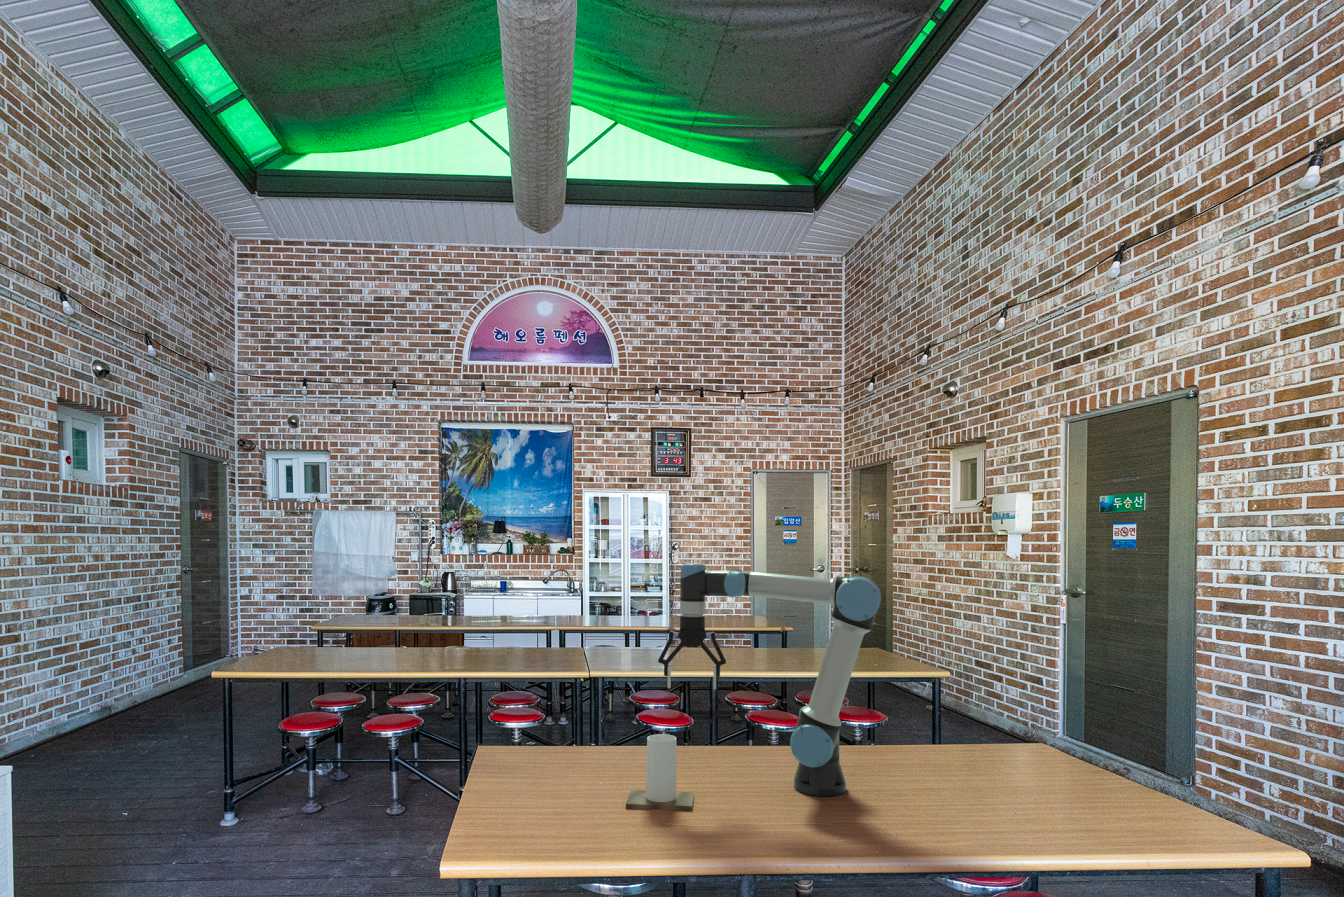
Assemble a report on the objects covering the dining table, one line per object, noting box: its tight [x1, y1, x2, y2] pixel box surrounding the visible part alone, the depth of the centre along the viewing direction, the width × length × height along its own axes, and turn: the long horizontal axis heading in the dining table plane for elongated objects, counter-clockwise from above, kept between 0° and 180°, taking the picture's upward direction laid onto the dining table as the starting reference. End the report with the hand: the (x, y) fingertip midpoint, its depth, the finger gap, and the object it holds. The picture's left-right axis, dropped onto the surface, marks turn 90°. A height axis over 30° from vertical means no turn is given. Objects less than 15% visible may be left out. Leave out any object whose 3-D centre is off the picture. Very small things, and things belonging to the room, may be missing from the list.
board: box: [625, 789, 695, 812], centre depth 213 cm, size 18×12×1 cm, turn 87°
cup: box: [645, 733, 677, 802], centre depth 214 cm, size 8×8×16 cm
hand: (691, 688), depth 229 cm, fingers open, 13 cm apart
